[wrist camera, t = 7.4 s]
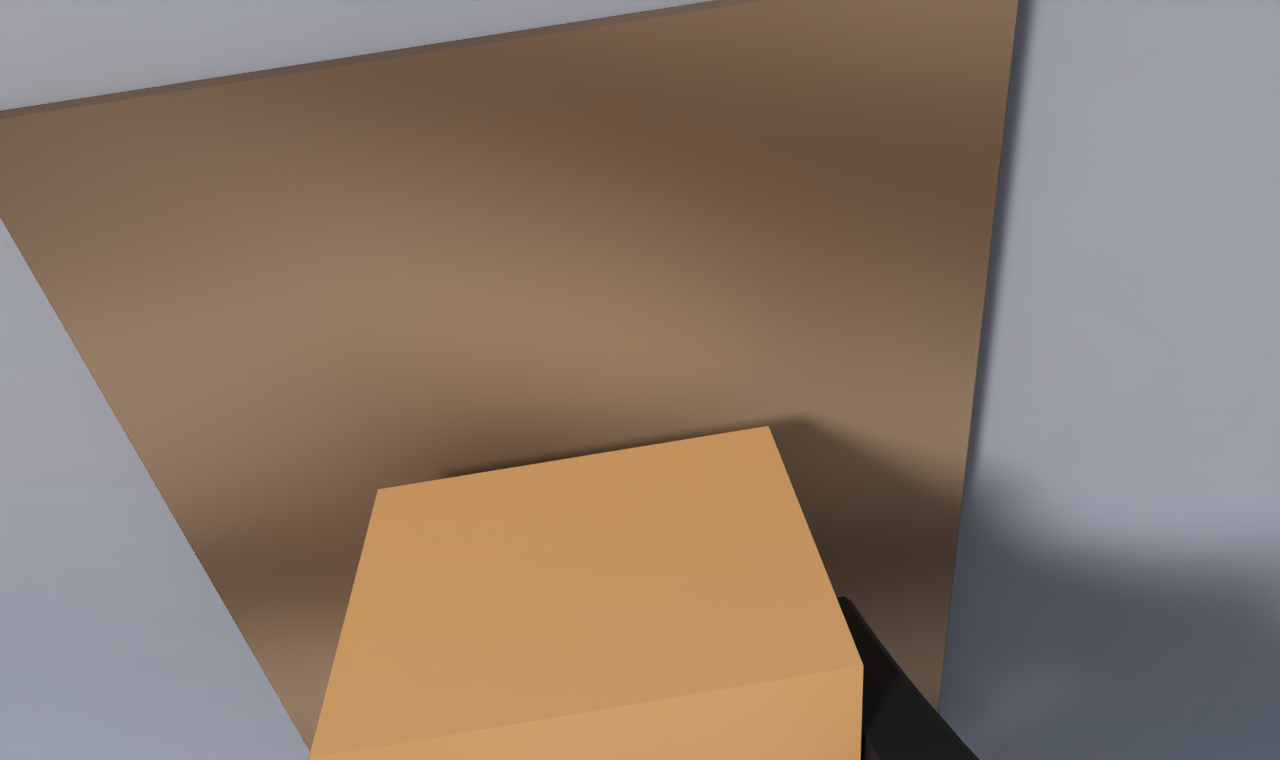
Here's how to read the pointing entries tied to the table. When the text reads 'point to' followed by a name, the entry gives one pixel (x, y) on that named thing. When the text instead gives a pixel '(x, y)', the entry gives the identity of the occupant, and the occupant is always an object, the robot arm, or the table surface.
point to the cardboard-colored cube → (596, 616)
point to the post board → (539, 282)
